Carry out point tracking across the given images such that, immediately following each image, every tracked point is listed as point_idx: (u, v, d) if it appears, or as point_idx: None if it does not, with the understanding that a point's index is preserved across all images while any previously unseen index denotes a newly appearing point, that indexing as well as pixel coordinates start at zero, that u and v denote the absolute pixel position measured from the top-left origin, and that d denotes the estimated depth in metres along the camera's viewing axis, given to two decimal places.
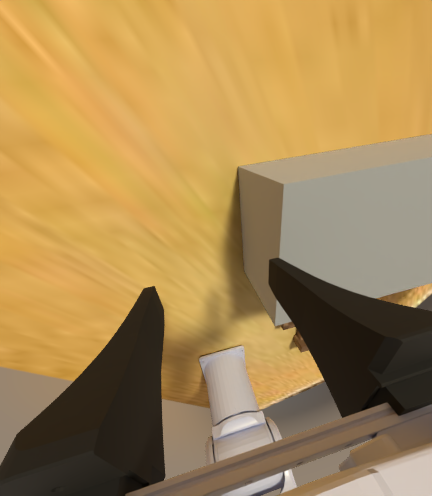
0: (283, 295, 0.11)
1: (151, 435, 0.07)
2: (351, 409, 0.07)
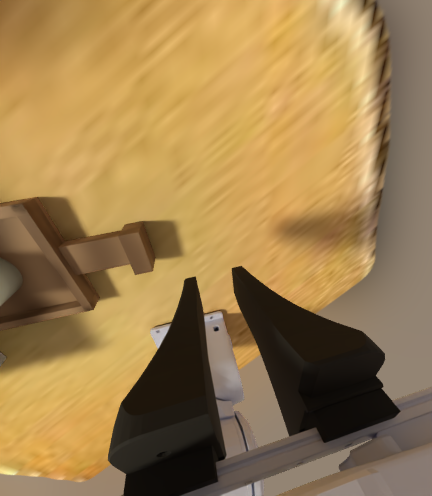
0: (243, 305, 0.10)
1: (217, 414, 0.07)
2: (293, 429, 0.07)
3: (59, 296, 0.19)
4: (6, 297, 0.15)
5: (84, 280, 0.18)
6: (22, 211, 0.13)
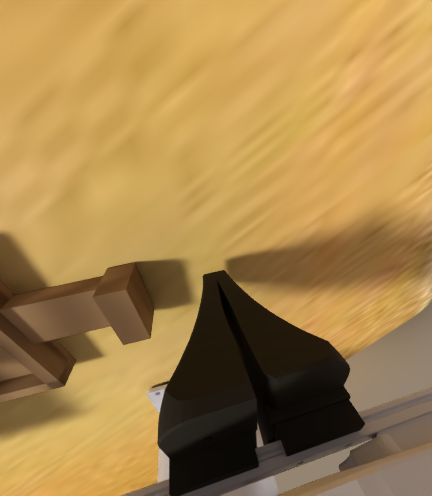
0: (224, 310, 0.10)
1: None
2: (265, 439, 0.07)
3: (13, 368, 0.13)
4: None
5: (49, 346, 0.12)
6: None
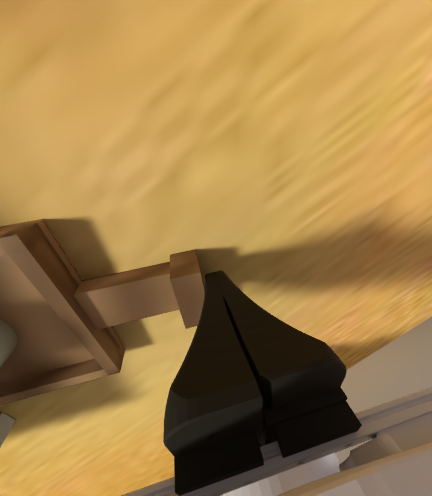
0: None
1: None
2: (262, 440, 0.07)
3: (71, 355, 0.13)
4: None
5: (107, 333, 0.13)
6: (17, 247, 0.08)
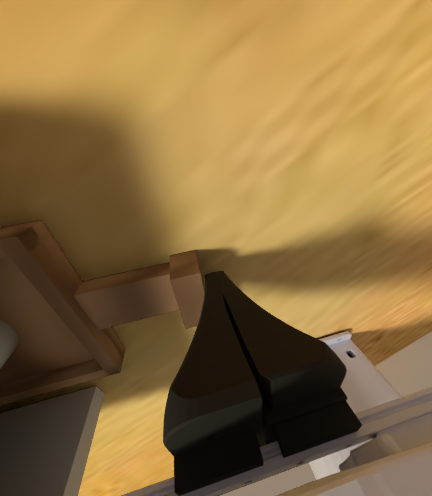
0: None
1: None
2: (262, 440, 0.07)
3: (71, 355, 0.13)
4: None
5: (107, 333, 0.13)
6: (17, 248, 0.08)
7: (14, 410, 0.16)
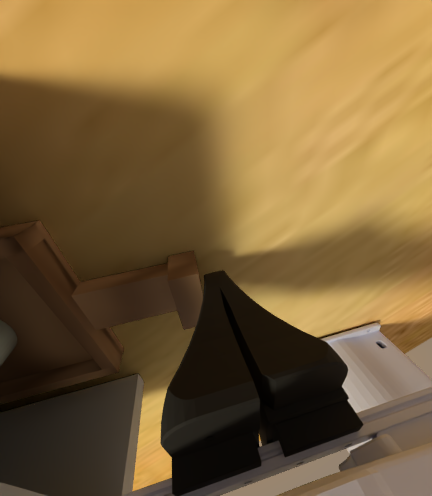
0: None
1: None
2: (264, 440, 0.07)
3: (70, 355, 0.13)
4: None
5: (105, 333, 0.13)
6: (15, 248, 0.08)
7: (60, 397, 0.16)
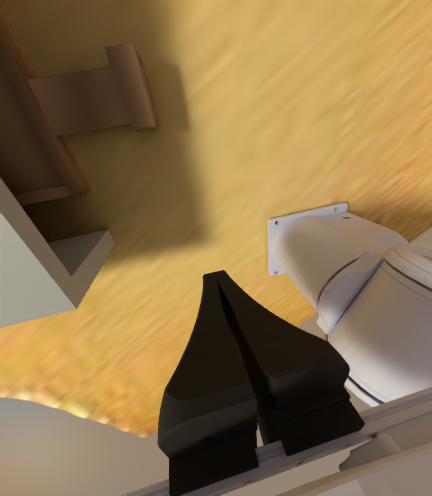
0: (224, 310, 0.10)
1: None
2: (265, 439, 0.07)
3: (37, 175, 0.14)
4: None
5: (67, 152, 0.14)
6: None
7: None
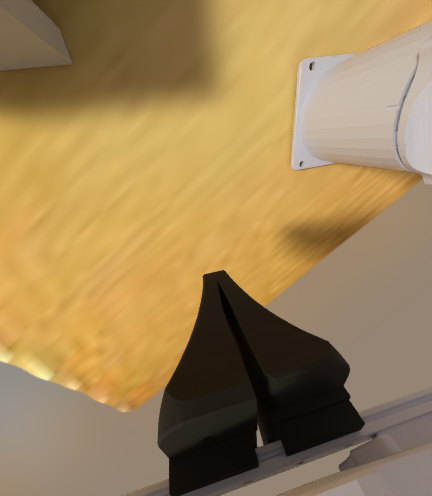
0: (224, 310, 0.10)
1: None
2: (265, 439, 0.07)
3: None
4: None
5: None
6: None
7: None
